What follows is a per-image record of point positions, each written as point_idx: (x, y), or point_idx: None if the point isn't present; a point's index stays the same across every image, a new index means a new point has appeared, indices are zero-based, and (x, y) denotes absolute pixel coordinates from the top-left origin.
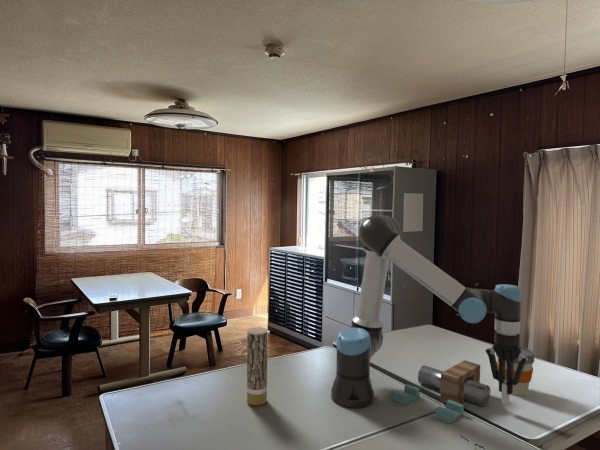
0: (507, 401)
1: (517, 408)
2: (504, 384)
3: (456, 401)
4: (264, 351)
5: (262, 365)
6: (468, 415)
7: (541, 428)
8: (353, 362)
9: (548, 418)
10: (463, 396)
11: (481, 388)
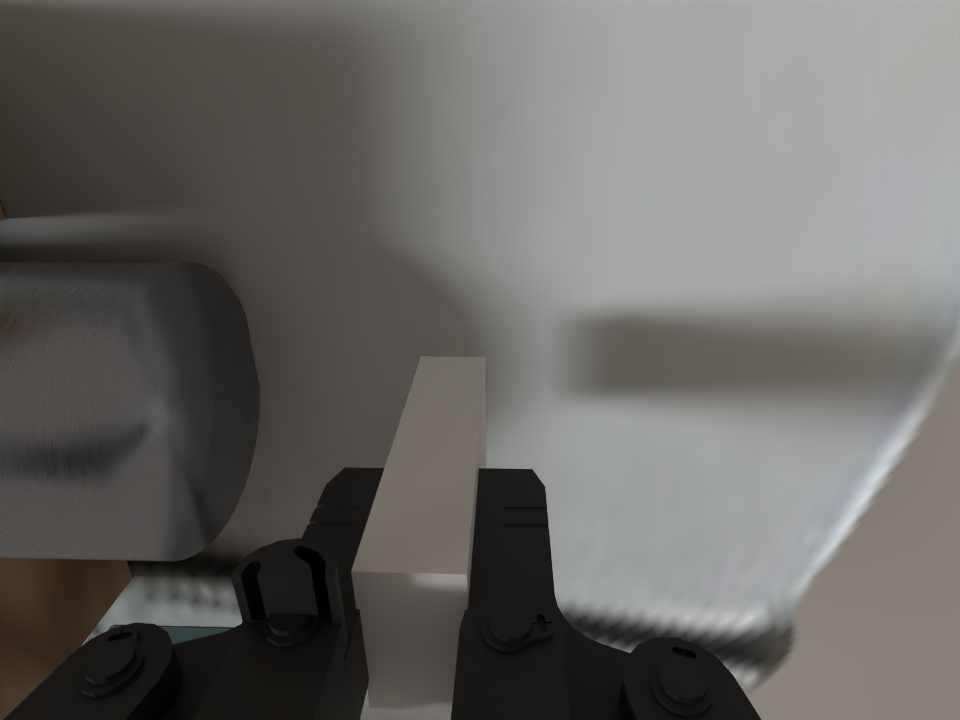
0: (485, 432)
1: (534, 131)
2: (425, 709)
3: (92, 624)
4: None
5: None
6: None
7: (849, 415)
8: None
9: (924, 106)
10: None
11: (113, 556)
